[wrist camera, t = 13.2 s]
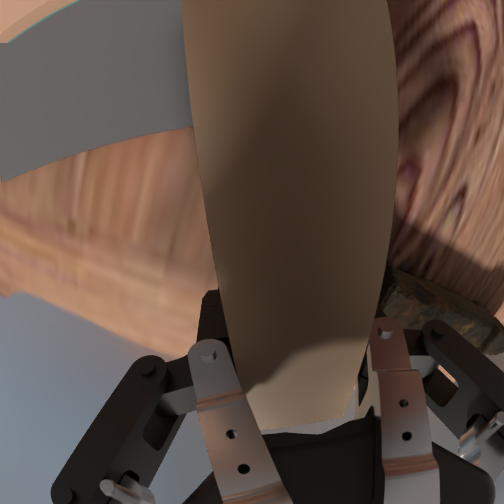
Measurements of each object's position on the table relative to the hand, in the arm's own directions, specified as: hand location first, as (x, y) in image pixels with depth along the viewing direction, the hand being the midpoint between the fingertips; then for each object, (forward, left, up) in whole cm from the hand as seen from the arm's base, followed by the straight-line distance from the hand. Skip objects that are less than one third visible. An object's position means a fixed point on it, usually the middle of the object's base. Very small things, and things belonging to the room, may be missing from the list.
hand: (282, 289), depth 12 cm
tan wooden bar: (0, -5, 0) cm, 5 cm away
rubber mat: (+9, -18, -2) cm, 20 cm away
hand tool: (-13, +5, -3) cm, 14 cm away
